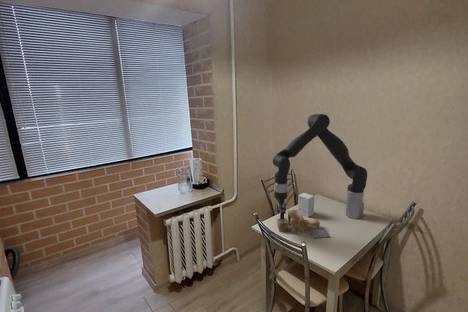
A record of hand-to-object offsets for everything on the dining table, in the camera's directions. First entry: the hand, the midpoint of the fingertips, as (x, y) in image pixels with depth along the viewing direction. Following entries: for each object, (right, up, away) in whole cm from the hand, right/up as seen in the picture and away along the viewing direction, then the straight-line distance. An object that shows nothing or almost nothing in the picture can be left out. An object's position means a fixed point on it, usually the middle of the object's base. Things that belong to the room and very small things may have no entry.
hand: (280, 215), depth 145 cm
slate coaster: (+21, -9, -4) cm, 24 cm away
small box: (+20, -4, +19) cm, 28 cm away
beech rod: (+15, -8, +3) cm, 17 cm away
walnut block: (+2, -9, +2) cm, 9 cm away
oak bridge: (+9, -8, +2) cm, 13 cm away
